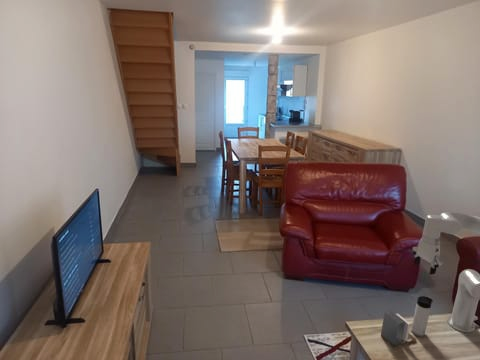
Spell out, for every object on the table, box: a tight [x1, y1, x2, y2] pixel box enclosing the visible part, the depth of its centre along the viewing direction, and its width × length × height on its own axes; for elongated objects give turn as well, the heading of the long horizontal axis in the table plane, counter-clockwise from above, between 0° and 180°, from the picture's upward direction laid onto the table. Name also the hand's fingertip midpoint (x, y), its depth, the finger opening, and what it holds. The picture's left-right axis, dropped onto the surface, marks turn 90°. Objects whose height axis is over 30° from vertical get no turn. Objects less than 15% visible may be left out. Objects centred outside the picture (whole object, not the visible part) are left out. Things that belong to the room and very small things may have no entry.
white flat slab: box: [395, 313, 411, 343], centre depth 171 cm, size 1×9×10 cm, turn 21°
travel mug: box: [411, 295, 434, 337], centre depth 175 cm, size 6×7×20 cm
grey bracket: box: [380, 310, 417, 349], centre depth 171 cm, size 14×9×14 cm, turn 111°
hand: (424, 269), depth 179 cm, fingers open, 9 cm apart
